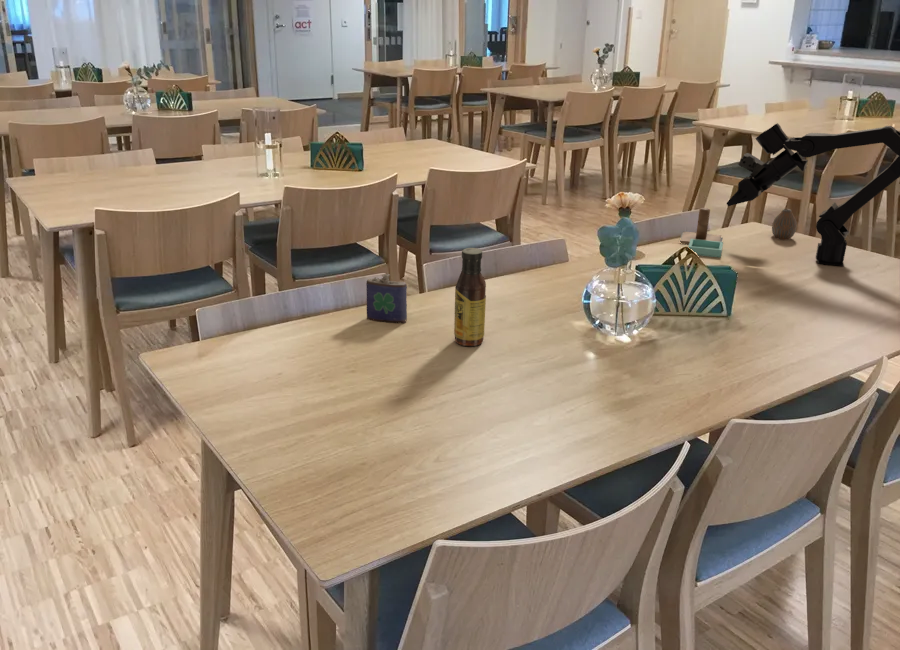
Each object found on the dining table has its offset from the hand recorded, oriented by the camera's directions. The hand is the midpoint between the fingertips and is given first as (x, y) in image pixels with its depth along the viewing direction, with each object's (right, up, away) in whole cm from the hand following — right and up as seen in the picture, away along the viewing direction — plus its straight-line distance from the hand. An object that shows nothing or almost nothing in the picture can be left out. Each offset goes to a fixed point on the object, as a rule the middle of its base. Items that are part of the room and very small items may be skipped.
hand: (731, 201), depth 232 cm
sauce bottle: (-77, -39, -65) cm, 108 cm away
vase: (+20, -9, +14) cm, 26 cm away
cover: (-6, -10, +8) cm, 15 cm away
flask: (-95, -35, -54) cm, 115 cm away
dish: (-8, -15, -2) cm, 17 cm away
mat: (-6, -11, +8) cm, 15 cm away
